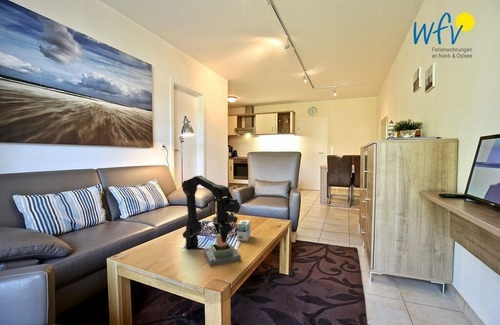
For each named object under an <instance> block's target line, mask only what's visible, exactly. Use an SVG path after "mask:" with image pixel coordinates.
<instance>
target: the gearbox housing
mask: <svg viewBox="0 0 500 325" xmlns="http://www.w3.org/2000/svg"><path fill="white" fill-rule="evenodd" d="M203 254H204V257H205V258H206V261H207V262H208V265H209V267H213V266H218V265H224V264H230V263H235V262H241V261H242V256H241V254H240V253H239V252H238V251H237V249H236V248H235V247H234V246H233V244H230V243H229V242H228V241H227V249H224V250H217V243H214V244H210V247H205V248H203Z"/></svg>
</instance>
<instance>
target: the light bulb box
mask: <svg viewBox="0 0 500 325" xmlns="http://www.w3.org/2000/svg"><path fill="white" fill-rule="evenodd" d="M236 225H237V233H236V234H237V235H236V236H237V238H236V239H237V241H240V240H241V242H247V241H248V240H249V239H250V237H251V220H250V219H240V220H239V221H238V223H236Z"/></svg>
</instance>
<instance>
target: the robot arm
mask: <svg viewBox="0 0 500 325" xmlns="http://www.w3.org/2000/svg"><path fill="white" fill-rule="evenodd" d="M198 186H201V187H203V188H205V189H206V190H208V191H210V192H211V194H212V195H213V197H215V198H214V199H213V201H212V202H215V204H216V206H215V208H216V211H214V212H215V215H216V216H213V218H212V220H211V221H212V225H213V227H214V228H215V229H214V230H215V231H216V234H217V235H218V234H220V235H221V238H222V241H223V243H225V242H226V238H227V236H228V234H229V233H230V232H232V231H233V225H231V223H234V224H237V222H238V219H239V217H238V216H236V215H235V214H238V213H239V212H240V210H241V204H240V202H239V201H238V199H236V198H235V199H234V197H233V195H232V194H231V192H230V190H229V188H228V187H227V186H226V185H223V184H217V183H215V182H213V181H211V180H209V179H207V178H206V177H204V175H195V176H193V177H191V178H189V179H186V180H183V182H182V184H181V187H182V188H181V189H182V192H183V193H184V195H185V196H186V207H187V217H188V218H187V220H188V221H187V222H186V224H185V226H186V227H185V230H184V231H183V232H182V237H183V238H184V239H185V249H186V250H189V249H197V248H198V247H199V237H198V236H200V234H201V232H202V229H203V228H202V222H201V221H199V220H198V214H197V202H196V193H197V191H198Z"/></svg>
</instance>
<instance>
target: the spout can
mask: <svg viewBox="0 0 500 325" xmlns="http://www.w3.org/2000/svg"><path fill="white" fill-rule="evenodd" d="M228 239H231V236H230V235H229V236H228V235H227V238H226V242H225V243H223V241H222V238H221V235H220V234H217V235H216V244H217V250H224V249H227V242H228Z"/></svg>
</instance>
